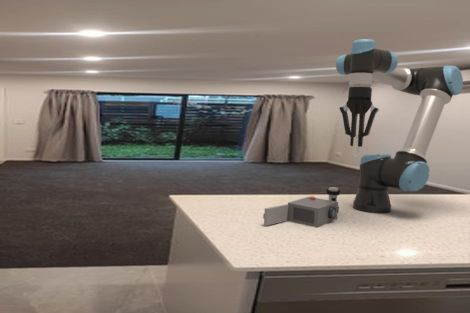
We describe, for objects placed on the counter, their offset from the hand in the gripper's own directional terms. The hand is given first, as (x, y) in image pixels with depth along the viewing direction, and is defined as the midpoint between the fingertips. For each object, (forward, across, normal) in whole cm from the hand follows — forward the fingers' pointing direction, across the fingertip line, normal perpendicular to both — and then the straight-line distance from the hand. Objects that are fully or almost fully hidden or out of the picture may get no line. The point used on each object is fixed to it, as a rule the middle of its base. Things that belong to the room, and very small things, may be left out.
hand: (355, 155), depth 138 cm
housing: (+24, +13, +2) cm, 28 cm away
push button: (+25, +11, -13) cm, 30 cm away
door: (+24, +22, +15) cm, 36 cm away
